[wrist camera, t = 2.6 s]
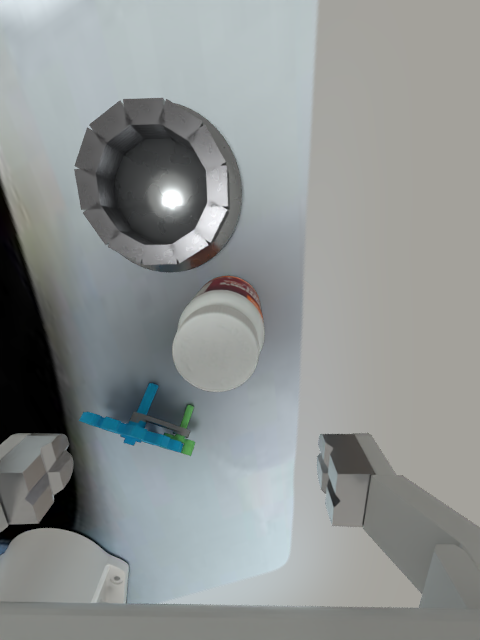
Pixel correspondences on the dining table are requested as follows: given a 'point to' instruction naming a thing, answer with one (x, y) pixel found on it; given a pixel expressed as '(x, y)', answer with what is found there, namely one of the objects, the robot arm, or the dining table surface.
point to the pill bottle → (220, 335)
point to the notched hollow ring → (158, 184)
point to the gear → (138, 422)
